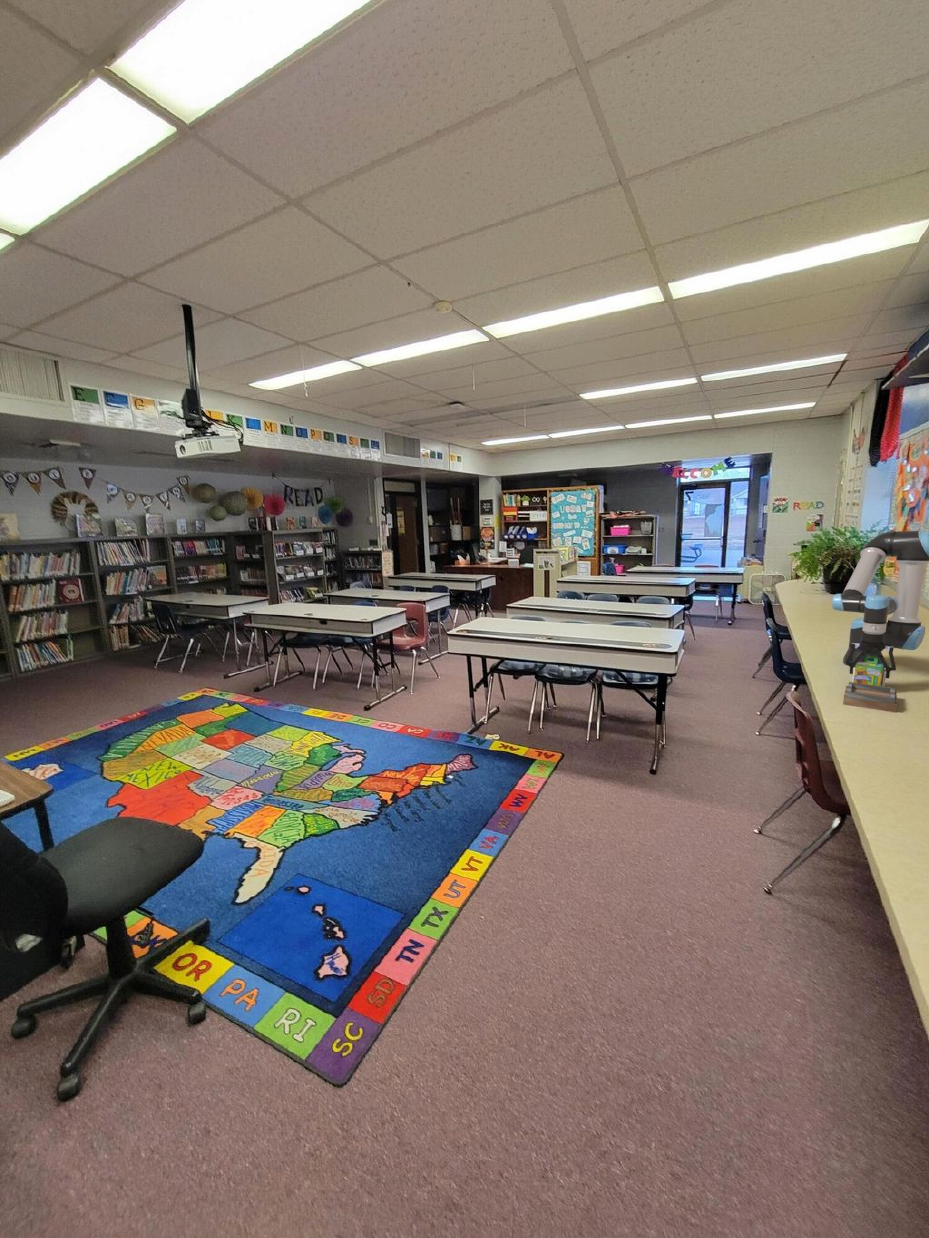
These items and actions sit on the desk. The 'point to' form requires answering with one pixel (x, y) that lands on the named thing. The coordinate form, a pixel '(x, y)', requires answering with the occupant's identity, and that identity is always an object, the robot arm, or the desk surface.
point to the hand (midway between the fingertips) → (868, 683)
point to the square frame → (870, 696)
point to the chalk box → (869, 671)
